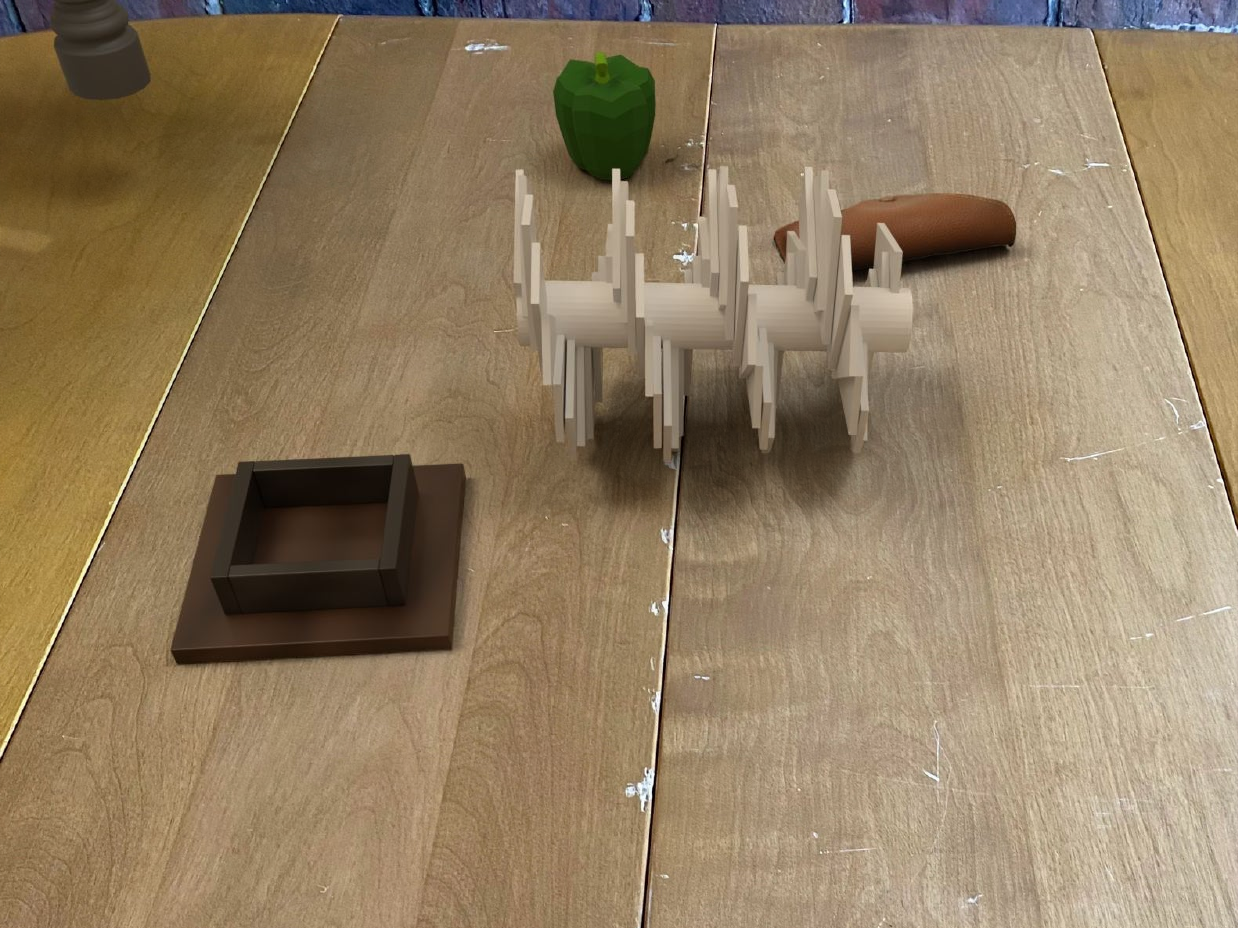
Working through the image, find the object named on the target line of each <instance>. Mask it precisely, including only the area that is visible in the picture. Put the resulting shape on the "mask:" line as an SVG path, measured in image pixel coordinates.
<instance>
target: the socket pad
mask: <svg viewBox="0 0 1238 928" xmlns="http://www.w3.org/2000/svg"><path fill="white" fill-rule="evenodd" d="M466 479H467V476H466V471H465V465H464V463H442V464H441V463H439V464H419V465H414V464H413V460H412V456H411V454H410V453H402V454H382V455H363V456H362V455H361V456H360V455H359V456H338V457H317V458H316V457H315V458H295V459H273V460H255V461H254V460H249V461H248V460H247V461H237V466H236V470H235V473H225V474H223V473H222V474H215V477H214V481H213V484H212V488H211V491H210V492H211V493H210V495H209V499H208V503H207V504H208V505H207V507H206V511H205V516H204V520H203V522H202V523H203V524H202V527H201V531H200V535H199V538H198V541H197V546H196V550H195V553H194V558H193V561H192V565H191V569H190V573H189V577H188V581H187V585H186V589H185V592H184V596H183V598H182V599H183V600H182V603H181V608H180V611H179V615H178V619H177V622H176V627H175V631H174V634H173V639H172V643H171V646H170V650H169V651H170V654H171V655H172V657H173V660H174V661H175V664H176V665H181V664H184V665H185V664H202V663H219V662H221V663H222V662H237V661H239V662H240V661H257V660H275V659H276V660H277V659H292V658H311V657H312V658H313V657H314V658H315V657H331V656H347V655H351V656H352V655H367V654H384V653H385V654H386V653H387V654H388V653H402V652H423V651H441V650H451V649H452V648H453V640H454V629H455V616H456V613H455V612H456V603H457V593H458V580H459V568H460V556H461V544H462V541H461V540H462V531H463V530H462V529H463V518H464V504H465V492H466V482H467V480H466Z"/></svg>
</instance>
